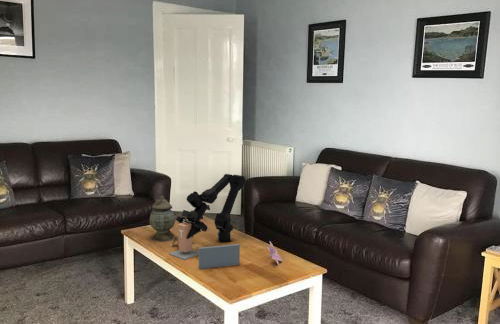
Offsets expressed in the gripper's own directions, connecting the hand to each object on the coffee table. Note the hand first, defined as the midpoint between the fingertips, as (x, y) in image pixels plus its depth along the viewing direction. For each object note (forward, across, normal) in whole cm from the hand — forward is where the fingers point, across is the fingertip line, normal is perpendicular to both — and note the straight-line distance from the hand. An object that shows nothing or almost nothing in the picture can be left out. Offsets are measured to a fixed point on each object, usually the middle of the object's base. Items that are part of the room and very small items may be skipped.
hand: (183, 237), depth 235 cm
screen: (+6, +25, +7) cm, 26 cm away
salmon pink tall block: (+4, 0, +6) cm, 7 cm away
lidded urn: (-1, -30, +14) cm, 33 cm away
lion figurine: (-1, -12, +15) cm, 19 cm away
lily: (-8, +42, +22) cm, 48 cm away
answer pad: (+6, 0, +7) cm, 9 cm away
